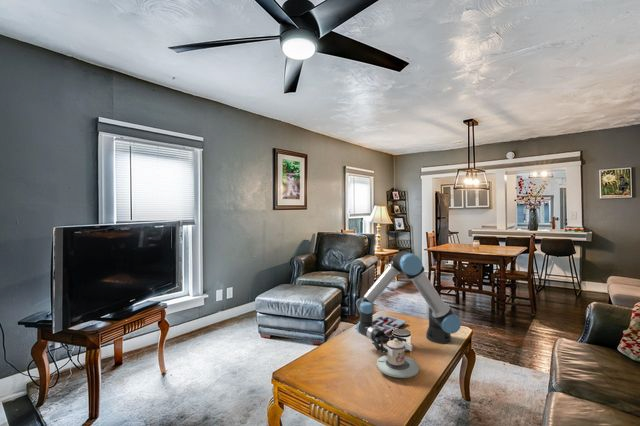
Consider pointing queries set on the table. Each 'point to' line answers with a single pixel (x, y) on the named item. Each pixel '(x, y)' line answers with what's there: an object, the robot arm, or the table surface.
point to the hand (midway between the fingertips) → (402, 350)
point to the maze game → (387, 323)
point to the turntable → (398, 367)
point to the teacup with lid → (396, 352)
